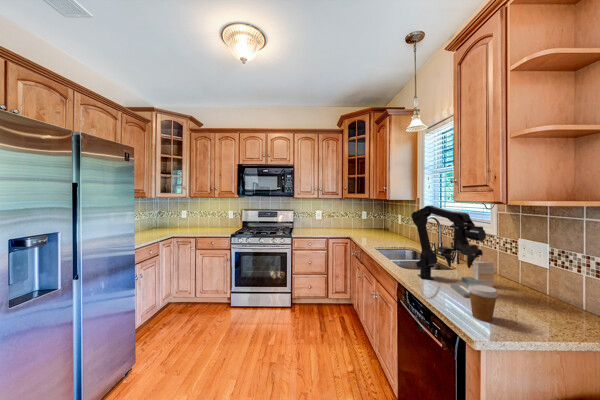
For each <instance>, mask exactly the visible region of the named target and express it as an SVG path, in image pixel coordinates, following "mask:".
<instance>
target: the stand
mask: <svg viewBox="0 0 600 400" xmlns="http://www.w3.org/2000/svg"><path fill="white" fill-rule="evenodd" d="M450 288H452V290H454V291H455V292H457V293H458V294H460V295H461V296H462V297H463V298H470V292H469V291H468V290H466V289H465V288H463V287H462V284H459V283H458V284H455V283H451V284H450Z"/></svg>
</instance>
